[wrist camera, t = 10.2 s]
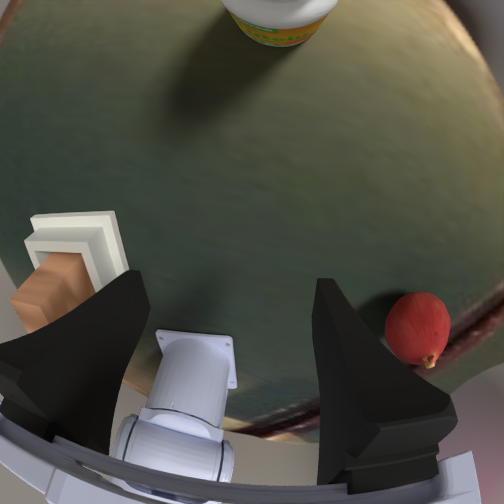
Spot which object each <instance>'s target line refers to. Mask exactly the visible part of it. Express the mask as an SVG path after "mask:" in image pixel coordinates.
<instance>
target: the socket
mask: <svg viewBox="0 0 504 504" xmlns="http://www.w3.org/2000/svg"><path fill="white" fill-rule="evenodd" d="M30 219H31V222H32V225H33V228H34V231H35V232H34V233H33V234H31V235H30V236H29V237H28V238H27V239H26V240H25V241H24V242H25V245H26V247H27V250H28V253H29V255H30V258H31V260H32V263H33V265H34V267H35V270H36V269H37V268H38V267H39V266H40V265H41V264H42V263H43V262H44V261H45V260H46V259H47V258H48V256H49V255H50V254H51V253H52V252H70V253H81V254H82V257H83V259H84V262H85V265H86V268H87V271H88V274H89V276H90V279H91V282H92V284H93V287H94V289H95V292H98V291H99V290H100V289H102V288H103V287H104V286H106V285H107V284H108V283H110V282H111V281H112V280H114V279H115V278H116V277H118V276H119V275H121V274H122V273H124V272H125V271H127V270H129V267H128V263H127V260H126V256H125V252H124V249H123V245H122V241H121V237H120V233H119V229H118V225H117V220H116V216H115V212H114V211H98V212H75V213H56V214H40V215H34V216H33V217H32V218H30Z"/></svg>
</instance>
